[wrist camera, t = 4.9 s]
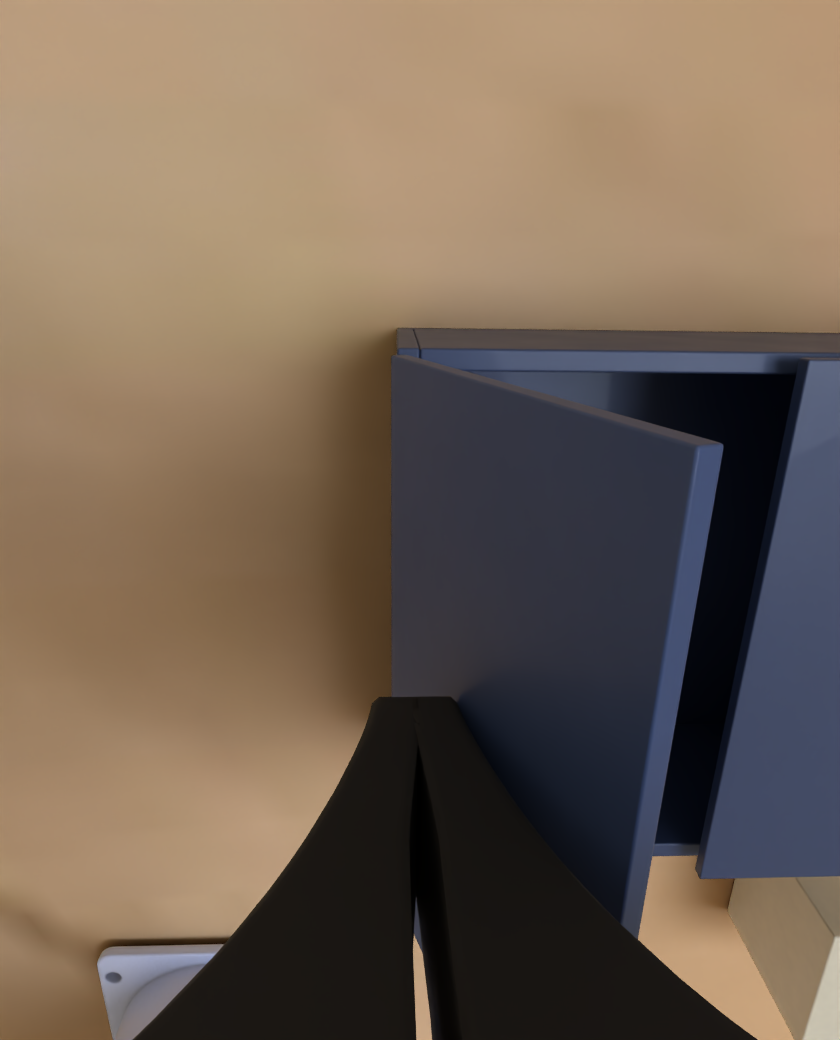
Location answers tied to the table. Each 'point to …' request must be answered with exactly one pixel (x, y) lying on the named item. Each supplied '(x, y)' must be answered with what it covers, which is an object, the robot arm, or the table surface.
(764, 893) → the block
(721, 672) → the carton
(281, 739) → the table surface
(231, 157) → the table surface
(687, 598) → the flap
